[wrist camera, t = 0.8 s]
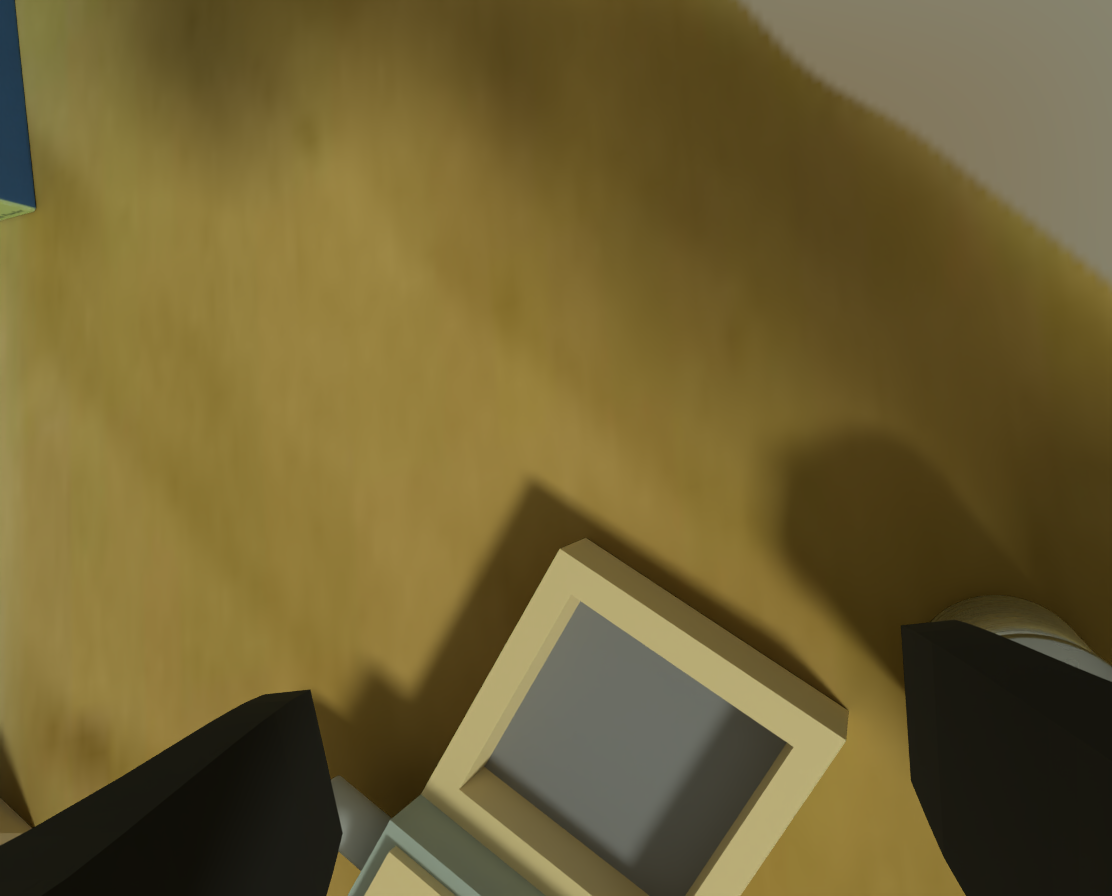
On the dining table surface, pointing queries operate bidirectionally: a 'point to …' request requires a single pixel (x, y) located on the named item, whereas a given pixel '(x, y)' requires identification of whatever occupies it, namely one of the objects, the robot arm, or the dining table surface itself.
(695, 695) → the drawer
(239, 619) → the dining table surface
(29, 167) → the protein box
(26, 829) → the campfire
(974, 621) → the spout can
